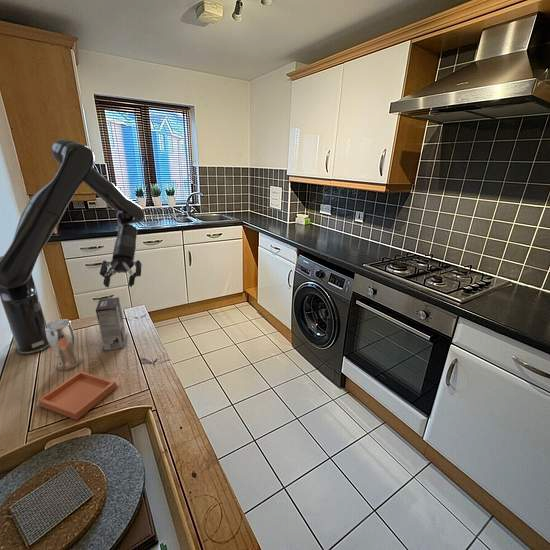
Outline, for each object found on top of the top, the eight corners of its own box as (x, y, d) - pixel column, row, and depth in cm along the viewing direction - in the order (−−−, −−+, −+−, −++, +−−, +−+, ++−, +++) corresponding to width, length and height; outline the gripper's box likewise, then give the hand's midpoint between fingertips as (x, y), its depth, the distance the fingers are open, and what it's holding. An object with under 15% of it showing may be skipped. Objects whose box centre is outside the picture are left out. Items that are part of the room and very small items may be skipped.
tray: (39, 406, 78) (37, 400, 77) (82, 376, 89) (80, 370, 89) (77, 420, 74) (75, 414, 73) (116, 387, 85) (115, 381, 85)
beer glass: (68, 372, 91) (57, 331, 85) (50, 369, 92) (37, 328, 87) (86, 359, 97) (76, 320, 92) (68, 356, 98) (58, 317, 93)
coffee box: (107, 337, 109) (99, 298, 104) (126, 334, 112) (119, 296, 106) (103, 351, 102) (94, 310, 96) (124, 347, 104) (116, 307, 98)
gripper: (101, 244, 112) (93, 282, 105) (140, 244, 114) (134, 282, 107) (110, 253, 119) (103, 290, 112) (146, 253, 120) (141, 289, 114)
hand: (118, 286), depth 110 cm, fingers open, 8 cm apart
